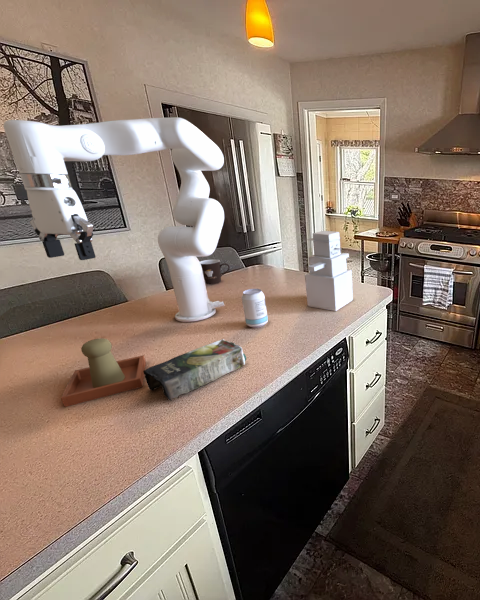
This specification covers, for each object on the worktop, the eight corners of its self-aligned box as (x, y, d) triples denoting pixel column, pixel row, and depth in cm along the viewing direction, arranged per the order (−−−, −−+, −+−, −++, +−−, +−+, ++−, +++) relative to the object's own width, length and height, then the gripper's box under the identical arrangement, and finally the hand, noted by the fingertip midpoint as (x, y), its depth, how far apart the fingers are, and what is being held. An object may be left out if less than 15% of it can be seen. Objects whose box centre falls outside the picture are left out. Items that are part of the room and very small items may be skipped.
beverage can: (254, 319, 114) (249, 287, 110) (272, 321, 113) (267, 288, 109) (242, 327, 108) (235, 294, 104) (260, 330, 107) (255, 295, 102)
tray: (145, 362, 87) (143, 355, 87) (142, 386, 78) (139, 378, 77) (78, 378, 80) (74, 370, 80) (64, 407, 71) (60, 397, 70)
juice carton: (228, 353, 92) (224, 334, 90) (250, 363, 88) (246, 343, 85) (148, 390, 76) (140, 368, 74) (169, 405, 72) (162, 382, 69)
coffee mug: (198, 284, 150) (193, 263, 146) (211, 279, 158) (207, 259, 154) (221, 286, 148) (217, 264, 145) (233, 280, 156) (229, 260, 152)
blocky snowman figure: (298, 311, 122) (290, 236, 112) (333, 292, 142) (328, 227, 132) (327, 316, 117) (321, 239, 107) (359, 296, 138) (356, 229, 128)
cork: (106, 390, 76) (90, 348, 72) (85, 386, 77) (69, 345, 73) (131, 375, 81) (118, 336, 77) (111, 372, 82) (97, 333, 78)
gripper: (96, 183, 75) (116, 256, 81) (39, 182, 78) (62, 252, 84) (57, 183, 68) (82, 263, 74) (-4, 182, 71) (25, 258, 77)
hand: (72, 257), depth 79 cm, fingers open, 9 cm apart
